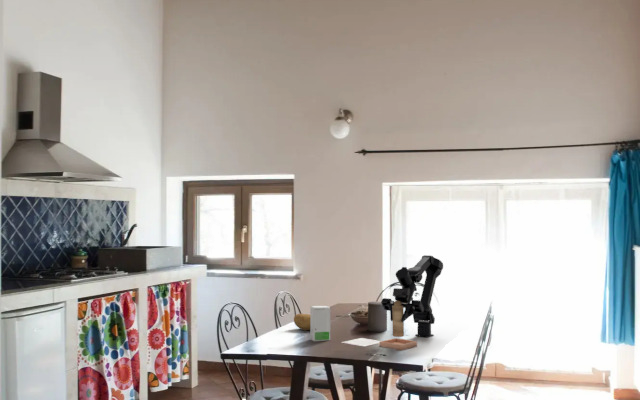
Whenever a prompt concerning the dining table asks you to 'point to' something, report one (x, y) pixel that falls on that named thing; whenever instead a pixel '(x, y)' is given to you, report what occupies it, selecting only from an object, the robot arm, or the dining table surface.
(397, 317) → the pepper mill
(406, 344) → the terracotta dish
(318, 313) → the skincare box
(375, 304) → the pillar candle
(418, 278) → the robot arm
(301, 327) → the potato
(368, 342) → the felt mat
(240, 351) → the dining table surface
